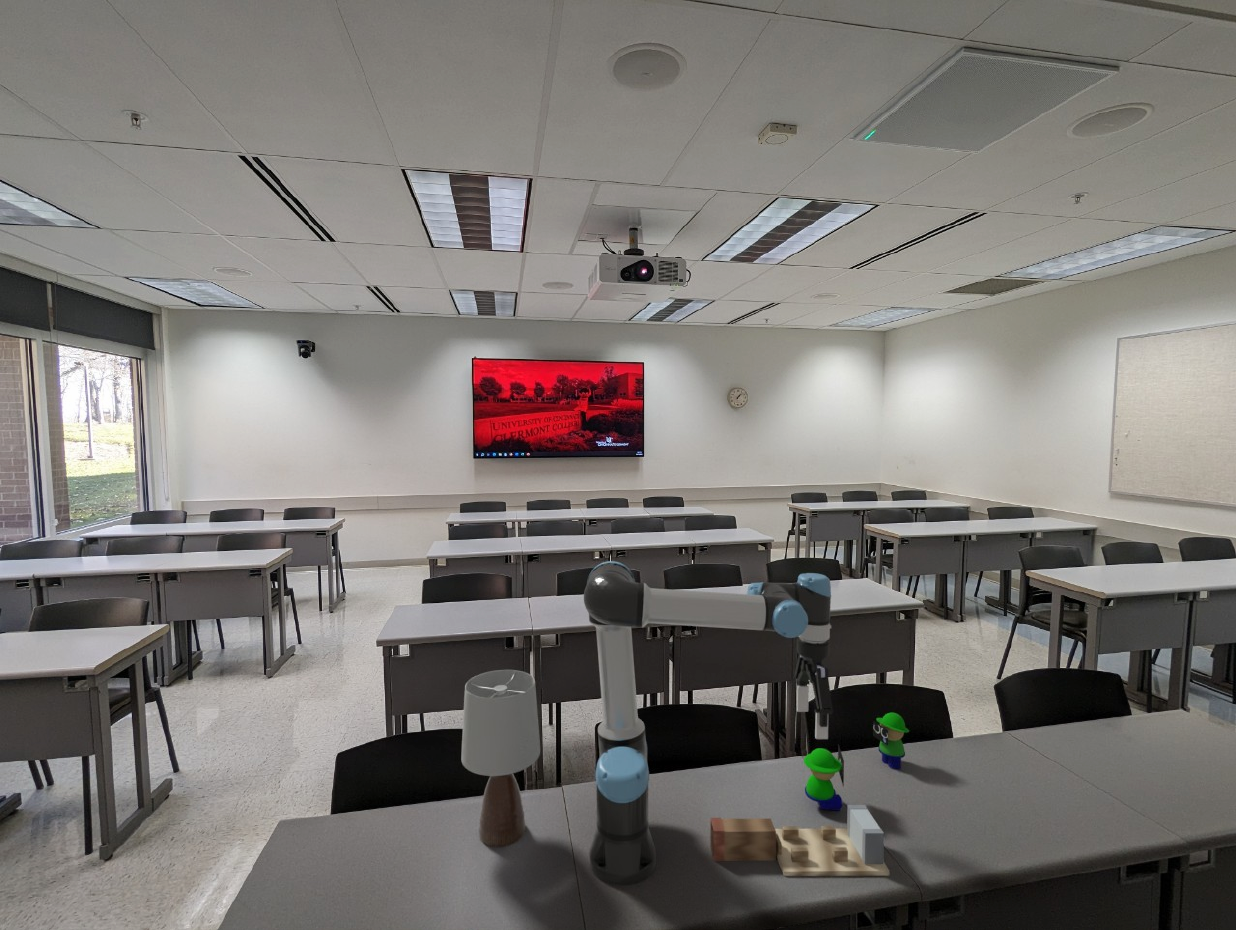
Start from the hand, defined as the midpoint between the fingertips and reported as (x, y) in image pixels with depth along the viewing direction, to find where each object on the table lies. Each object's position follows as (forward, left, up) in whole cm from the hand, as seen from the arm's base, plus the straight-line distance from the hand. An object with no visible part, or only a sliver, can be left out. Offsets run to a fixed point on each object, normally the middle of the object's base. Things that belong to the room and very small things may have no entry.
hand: (811, 724), depth 145 cm
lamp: (-75, -2, -26) cm, 80 cm away
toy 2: (+33, +27, -26) cm, 50 cm away
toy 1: (+6, +8, -26) cm, 28 cm away
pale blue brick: (+9, -10, -24) cm, 28 cm away
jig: (0, -10, -26) cm, 27 cm away
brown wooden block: (-19, -10, -26) cm, 33 cm away
